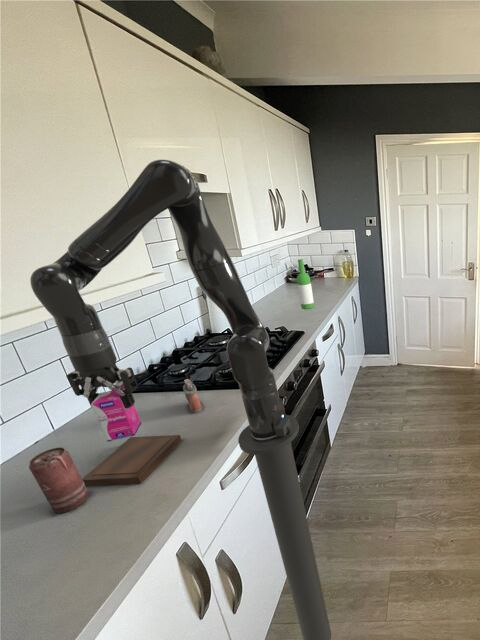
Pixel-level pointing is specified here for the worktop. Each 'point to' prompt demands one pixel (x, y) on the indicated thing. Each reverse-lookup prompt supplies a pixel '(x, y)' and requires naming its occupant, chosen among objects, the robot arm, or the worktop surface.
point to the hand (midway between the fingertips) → (114, 407)
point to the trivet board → (132, 461)
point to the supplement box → (115, 416)
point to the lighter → (192, 396)
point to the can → (59, 479)
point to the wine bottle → (304, 287)
